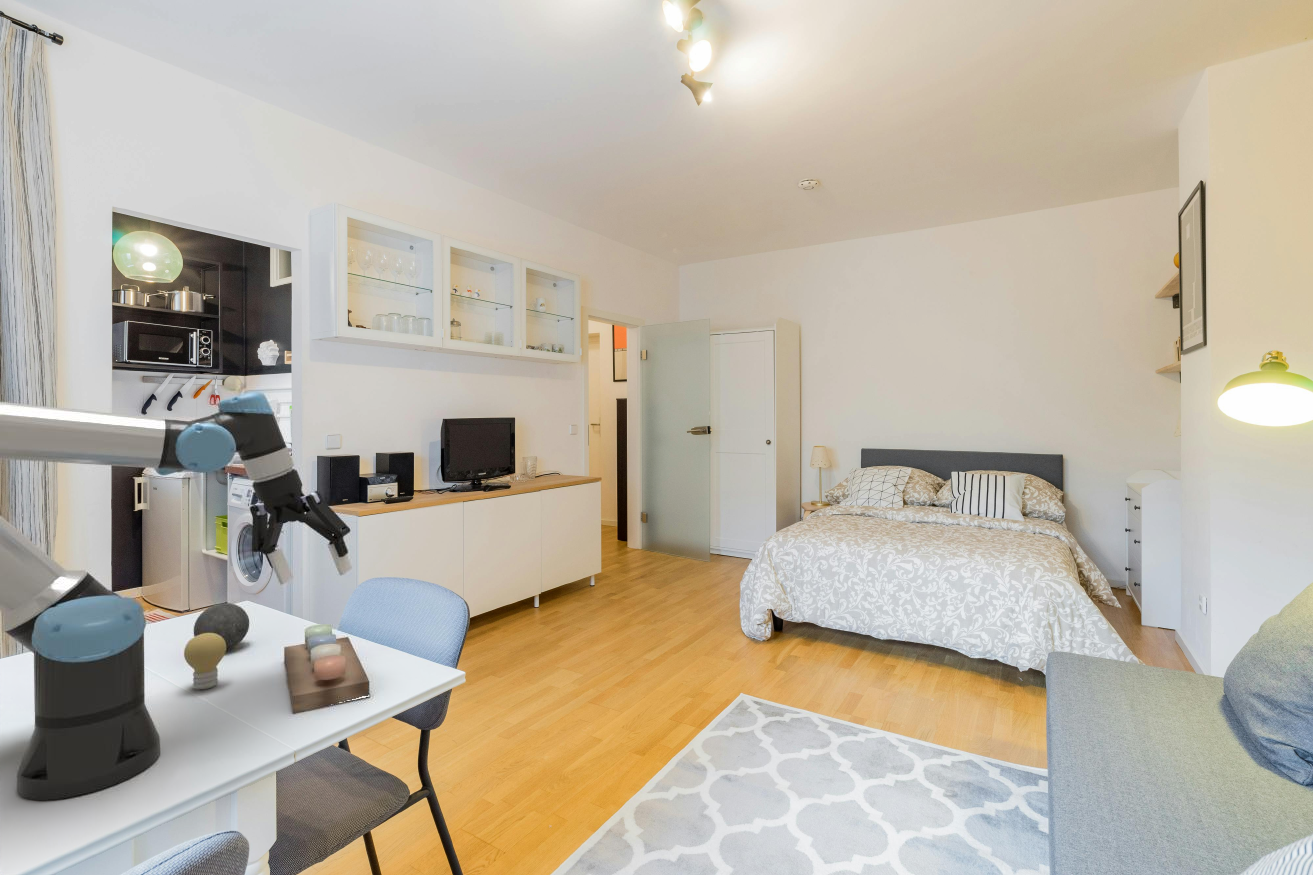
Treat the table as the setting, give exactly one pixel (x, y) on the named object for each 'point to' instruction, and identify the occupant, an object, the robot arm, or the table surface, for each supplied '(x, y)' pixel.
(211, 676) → the light bulb
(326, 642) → the slate button
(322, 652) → the cream button
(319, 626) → the sage button
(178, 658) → the table surface
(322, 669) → the terracotta button
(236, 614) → the decorative ball
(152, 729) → the robot arm
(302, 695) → the button board
